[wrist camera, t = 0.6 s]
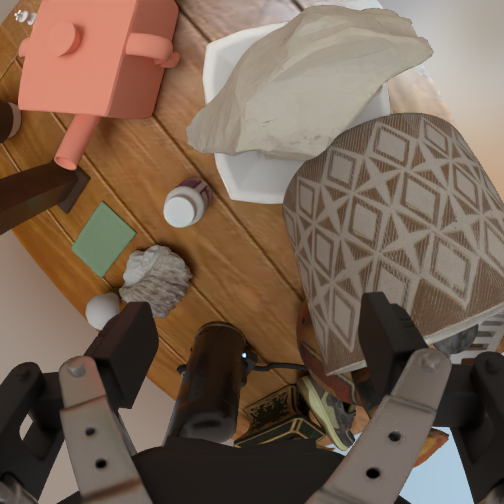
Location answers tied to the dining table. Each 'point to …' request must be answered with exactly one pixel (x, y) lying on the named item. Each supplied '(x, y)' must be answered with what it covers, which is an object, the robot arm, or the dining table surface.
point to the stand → (38, 192)
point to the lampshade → (483, 339)
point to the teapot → (96, 63)
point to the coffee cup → (9, 120)
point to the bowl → (254, 162)
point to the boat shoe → (329, 412)
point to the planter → (396, 232)
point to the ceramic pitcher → (349, 381)
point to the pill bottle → (187, 202)
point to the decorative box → (280, 420)
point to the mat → (102, 239)
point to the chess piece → (26, 17)
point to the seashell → (156, 279)
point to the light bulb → (103, 308)
